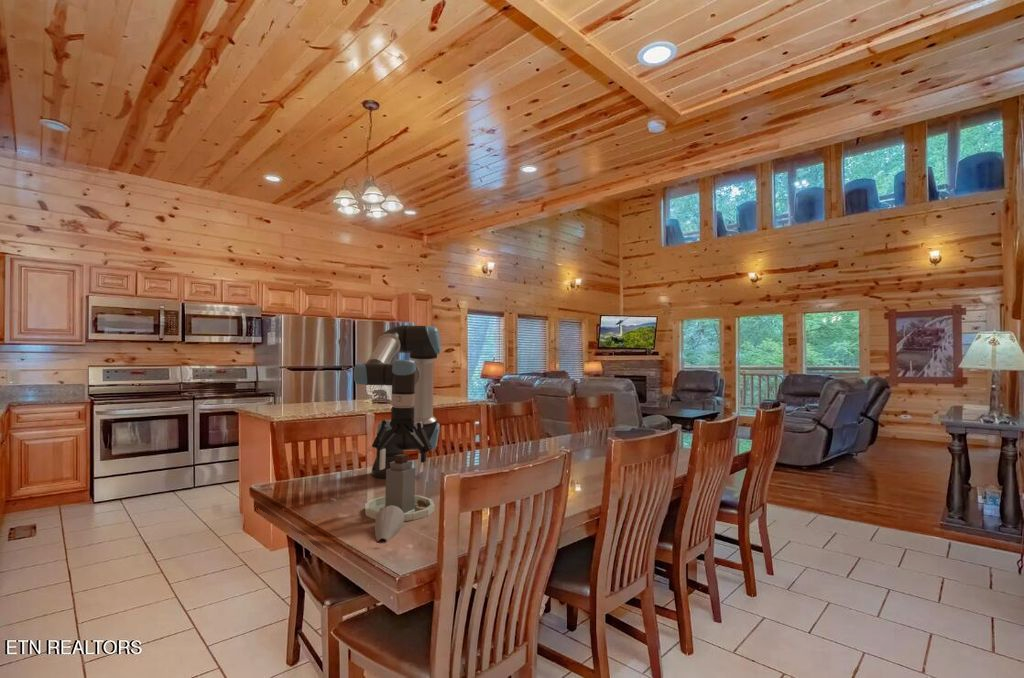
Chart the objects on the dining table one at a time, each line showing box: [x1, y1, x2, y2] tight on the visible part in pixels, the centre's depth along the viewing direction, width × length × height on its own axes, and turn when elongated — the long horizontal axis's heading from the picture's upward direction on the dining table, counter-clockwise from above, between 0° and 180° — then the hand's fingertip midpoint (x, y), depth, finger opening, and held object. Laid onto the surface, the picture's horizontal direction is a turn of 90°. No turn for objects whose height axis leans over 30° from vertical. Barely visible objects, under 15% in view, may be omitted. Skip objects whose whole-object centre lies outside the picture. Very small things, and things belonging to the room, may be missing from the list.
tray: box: [364, 494, 436, 522], centre depth 169 cm, size 22×22×3 cm
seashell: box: [374, 505, 405, 543], centre depth 150 cm, size 9×11×15 cm
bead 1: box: [417, 499, 426, 507], centre depth 174 cm, size 3×3×2 cm
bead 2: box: [415, 507, 424, 512], centre depth 166 cm, size 3×3×2 cm
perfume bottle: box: [385, 453, 416, 513], centre depth 170 cm, size 7×7×18 cm
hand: (401, 470), depth 170 cm, fingers open, 13 cm apart
